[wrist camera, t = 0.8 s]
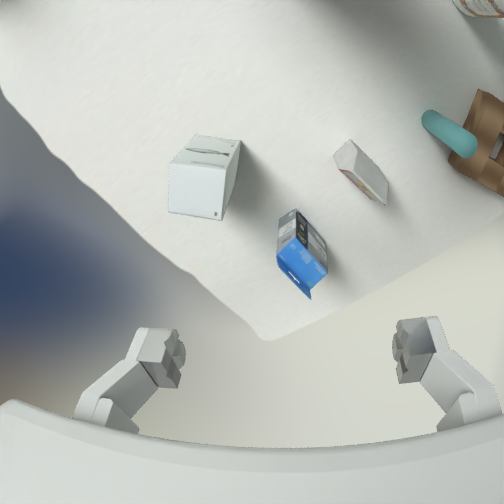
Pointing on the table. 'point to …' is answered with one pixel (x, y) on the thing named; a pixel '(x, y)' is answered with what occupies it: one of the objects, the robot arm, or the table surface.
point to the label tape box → (301, 252)
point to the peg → (450, 133)
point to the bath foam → (481, 8)
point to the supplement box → (203, 177)
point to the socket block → (484, 142)
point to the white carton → (362, 171)
